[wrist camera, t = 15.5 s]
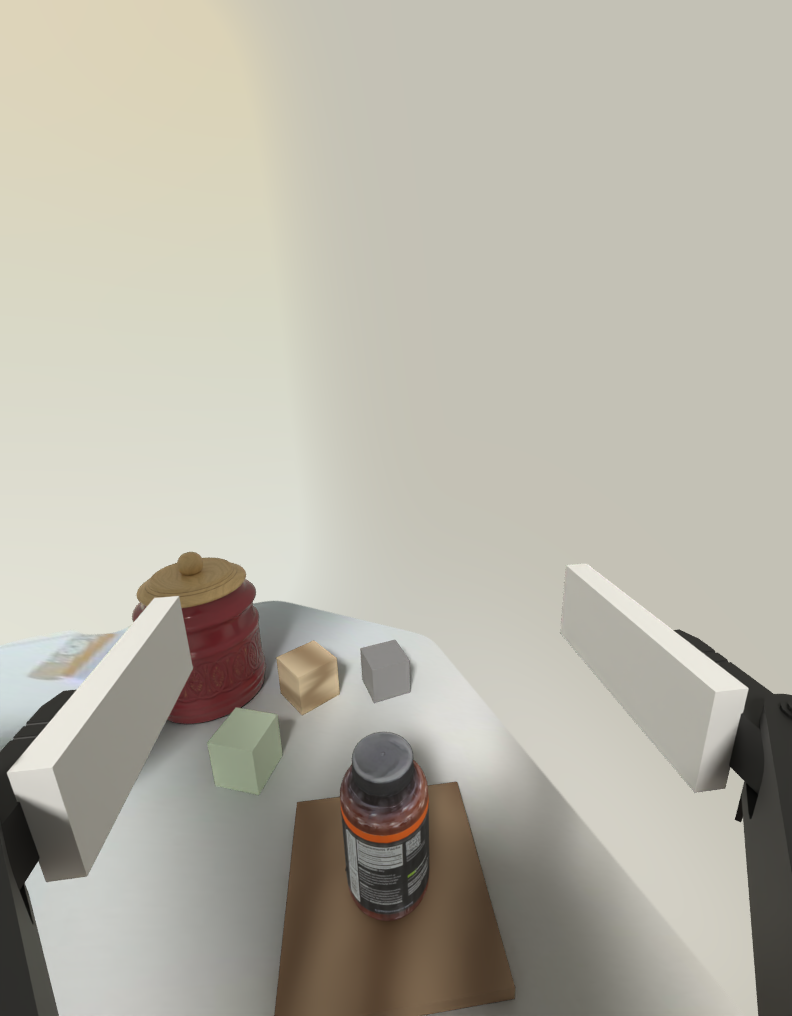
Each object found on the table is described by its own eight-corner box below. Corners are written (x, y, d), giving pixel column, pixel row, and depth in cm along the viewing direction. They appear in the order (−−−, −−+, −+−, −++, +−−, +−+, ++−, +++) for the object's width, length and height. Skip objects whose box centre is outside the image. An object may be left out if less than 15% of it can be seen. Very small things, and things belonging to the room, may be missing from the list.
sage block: (215, 786, 41) (206, 742, 40) (242, 747, 45) (235, 707, 44) (259, 795, 40) (252, 751, 39) (282, 755, 44) (277, 714, 43)
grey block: (374, 703, 51) (372, 670, 50) (362, 679, 55) (360, 648, 54) (410, 692, 52) (409, 660, 51) (396, 670, 56) (395, 639, 55)
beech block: (302, 716, 49) (298, 677, 48) (280, 693, 53) (276, 657, 52) (339, 694, 53) (336, 658, 51) (317, 674, 56) (313, 640, 55)
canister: (270, 709, 50) (250, 566, 45) (142, 741, 47) (105, 588, 42) (264, 646, 62) (248, 527, 57) (162, 667, 58) (135, 541, 53)
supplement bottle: (367, 826, 36) (360, 710, 33) (439, 852, 34) (439, 730, 31) (331, 906, 31) (319, 777, 27) (414, 942, 29) (412, 807, 25)
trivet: (274, 1042, 25) (272, 1030, 25) (298, 811, 38) (297, 802, 38) (514, 998, 27) (515, 988, 26) (457, 790, 40) (457, 781, 40)
